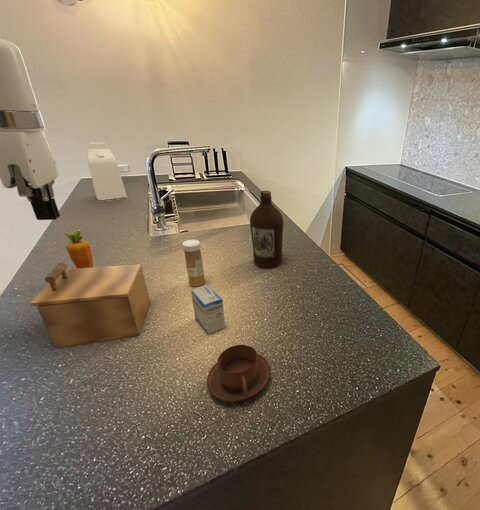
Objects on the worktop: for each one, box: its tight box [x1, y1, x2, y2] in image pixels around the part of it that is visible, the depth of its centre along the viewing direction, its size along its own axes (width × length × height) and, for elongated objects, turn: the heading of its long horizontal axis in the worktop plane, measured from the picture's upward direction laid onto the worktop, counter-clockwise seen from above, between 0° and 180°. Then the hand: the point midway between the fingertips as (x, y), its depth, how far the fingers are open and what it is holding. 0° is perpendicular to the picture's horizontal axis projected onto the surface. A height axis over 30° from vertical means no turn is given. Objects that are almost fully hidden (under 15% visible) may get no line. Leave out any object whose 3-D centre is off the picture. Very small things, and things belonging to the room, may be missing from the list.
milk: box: [86, 142, 128, 201], centre depth 149 cm, size 12×12×26 cm
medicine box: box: [190, 284, 226, 335], centre depth 74 cm, size 8×4×9 cm, turn 44°
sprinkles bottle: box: [181, 239, 206, 287], centre depth 88 cm, size 5×5×14 cm
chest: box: [36, 266, 151, 349], centre depth 71 cm, size 16×14×11 cm
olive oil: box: [249, 190, 284, 269], centre depth 101 cm, size 11×11×25 cm
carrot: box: [63, 229, 94, 269], centre depth 87 cm, size 5×5×15 cm
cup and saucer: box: [206, 344, 271, 403], centre depth 60 cm, size 12×12×6 cm
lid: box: [29, 262, 142, 307], centre depth 68 cm, size 16×14×4 cm
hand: (48, 218), depth 62 cm, fingers closed
